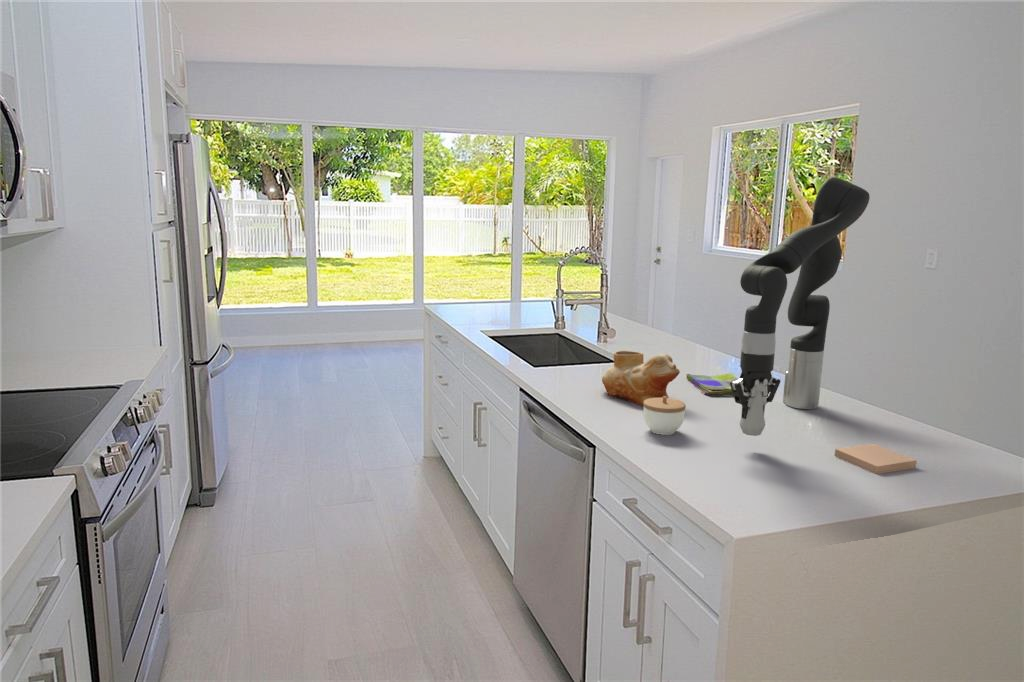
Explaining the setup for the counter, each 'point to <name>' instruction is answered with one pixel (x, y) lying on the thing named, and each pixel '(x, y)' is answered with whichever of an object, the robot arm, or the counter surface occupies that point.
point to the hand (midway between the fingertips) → (752, 419)
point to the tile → (875, 458)
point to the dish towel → (713, 383)
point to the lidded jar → (664, 415)
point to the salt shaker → (754, 414)
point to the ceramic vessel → (639, 376)
